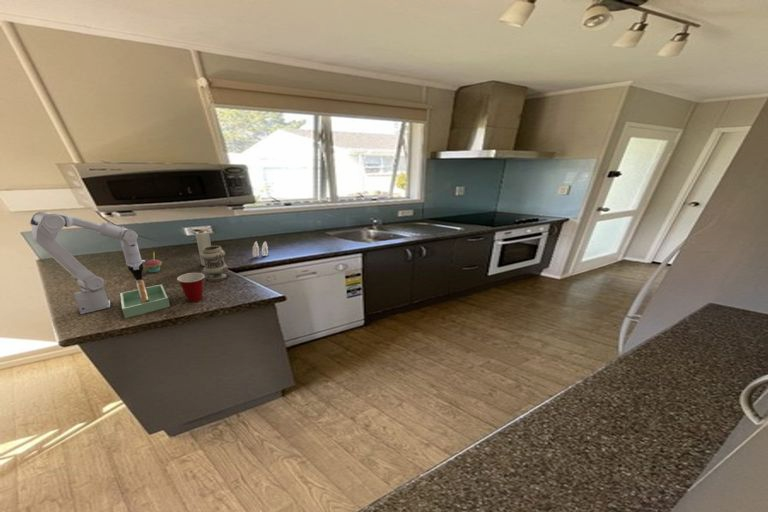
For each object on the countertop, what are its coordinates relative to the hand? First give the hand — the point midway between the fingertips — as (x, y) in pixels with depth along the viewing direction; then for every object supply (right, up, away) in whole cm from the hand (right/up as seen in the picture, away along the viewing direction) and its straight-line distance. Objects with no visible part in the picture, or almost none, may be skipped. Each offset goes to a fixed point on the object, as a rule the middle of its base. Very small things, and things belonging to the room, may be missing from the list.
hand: (139, 279), depth 141 cm
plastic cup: (+30, -9, -3) cm, 32 cm away
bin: (+11, -11, -9) cm, 18 cm away
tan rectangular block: (+8, -5, -7) cm, 12 cm away
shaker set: (+35, -3, +15) cm, 38 cm away
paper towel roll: (+9, +6, +41) cm, 42 cm away
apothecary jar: (+26, -1, +21) cm, 34 cm away
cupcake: (-15, +3, +28) cm, 33 cm away
